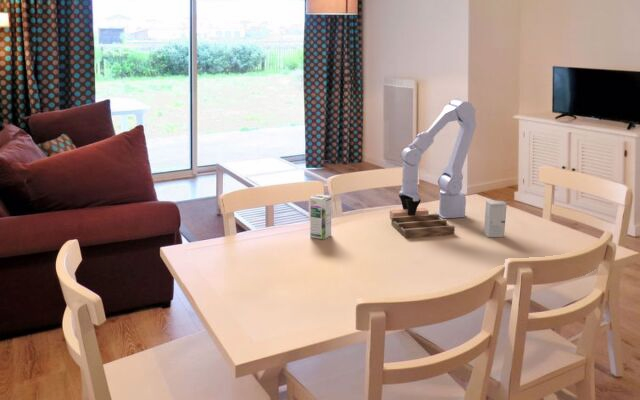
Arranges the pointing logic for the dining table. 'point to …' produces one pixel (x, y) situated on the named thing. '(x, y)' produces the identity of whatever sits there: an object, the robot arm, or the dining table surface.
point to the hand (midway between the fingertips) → (409, 214)
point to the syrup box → (320, 216)
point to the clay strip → (405, 212)
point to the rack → (422, 226)
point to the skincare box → (495, 218)
